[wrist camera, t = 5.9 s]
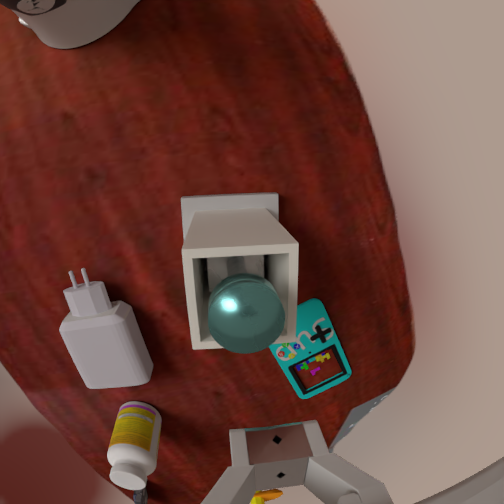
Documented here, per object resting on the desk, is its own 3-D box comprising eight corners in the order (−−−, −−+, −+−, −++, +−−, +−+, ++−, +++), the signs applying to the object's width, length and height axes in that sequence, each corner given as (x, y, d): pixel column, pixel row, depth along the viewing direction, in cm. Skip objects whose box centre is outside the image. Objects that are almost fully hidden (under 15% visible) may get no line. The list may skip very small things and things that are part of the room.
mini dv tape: (136, 476, 47) (132, 500, 41) (144, 478, 47) (140, 502, 41) (140, 495, 49) (138, 517, 43) (147, 496, 49) (145, 518, 43)
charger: (117, 255, 35) (154, 362, 39) (54, 269, 34) (94, 368, 39) (105, 269, 30) (149, 384, 35) (37, 283, 30) (85, 389, 34)
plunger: (206, 232, 28) (200, 285, 17) (260, 230, 29) (289, 279, 18) (209, 283, 30) (208, 358, 18) (260, 280, 30) (287, 352, 19)
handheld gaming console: (320, 297, 38) (354, 376, 43) (317, 293, 39) (351, 372, 44) (257, 328, 38) (302, 402, 43) (256, 324, 39) (300, 397, 44)
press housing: (182, 196, 34) (157, 228, 19) (275, 192, 35) (320, 220, 20) (189, 284, 36) (175, 365, 22) (276, 279, 37) (313, 355, 23)
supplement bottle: (112, 401, 40) (92, 466, 28) (152, 396, 41) (139, 466, 29) (130, 430, 43) (117, 493, 30) (168, 426, 43) (162, 493, 31)
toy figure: (272, 450, 47) (284, 506, 35) (276, 460, 48) (288, 514, 36) (233, 458, 46) (239, 515, 35) (239, 468, 48) (246, 522, 36)
